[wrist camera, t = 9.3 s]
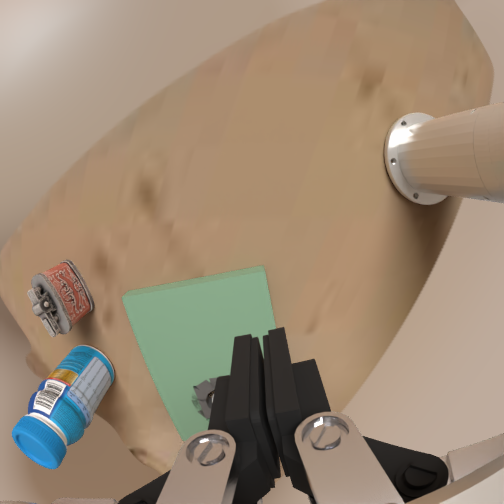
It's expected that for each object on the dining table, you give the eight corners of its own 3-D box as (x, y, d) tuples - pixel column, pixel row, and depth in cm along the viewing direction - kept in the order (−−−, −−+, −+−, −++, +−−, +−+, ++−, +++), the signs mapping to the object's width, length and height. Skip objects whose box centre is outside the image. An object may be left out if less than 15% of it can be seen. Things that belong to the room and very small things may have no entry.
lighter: (57, 265, 36) (15, 287, 26) (72, 255, 36) (29, 276, 26) (83, 314, 37) (48, 346, 28) (99, 306, 37) (65, 339, 28)
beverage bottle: (126, 369, 40) (74, 466, 20) (101, 394, 41) (54, 480, 21) (84, 332, 38) (11, 414, 19) (63, 360, 39) (0, 436, 20)
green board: (128, 290, 37) (121, 297, 34) (263, 265, 37) (264, 270, 34) (184, 430, 43) (182, 440, 40) (291, 416, 42) (293, 427, 40)
